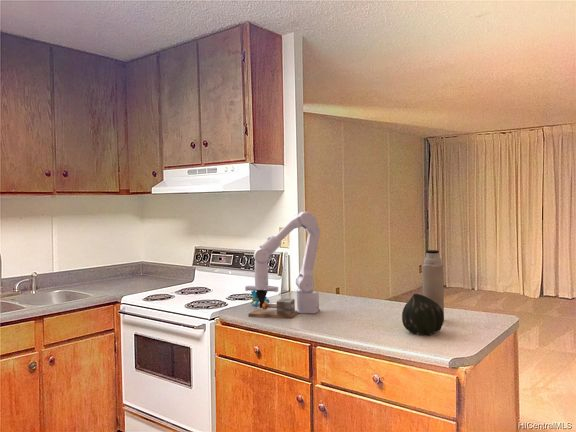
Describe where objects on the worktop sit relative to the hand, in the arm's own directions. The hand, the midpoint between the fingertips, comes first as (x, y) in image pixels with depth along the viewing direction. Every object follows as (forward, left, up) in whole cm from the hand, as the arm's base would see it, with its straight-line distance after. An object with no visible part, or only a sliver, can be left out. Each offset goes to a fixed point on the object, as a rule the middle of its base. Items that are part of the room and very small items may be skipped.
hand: (262, 307), depth 205 cm
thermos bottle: (-71, -3, -3) cm, 71 cm away
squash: (-67, +15, -3) cm, 69 cm away
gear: (+7, -17, -3) cm, 19 cm away
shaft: (-7, 0, -1) cm, 7 cm away
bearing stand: (-5, 0, -3) cm, 6 cm away
